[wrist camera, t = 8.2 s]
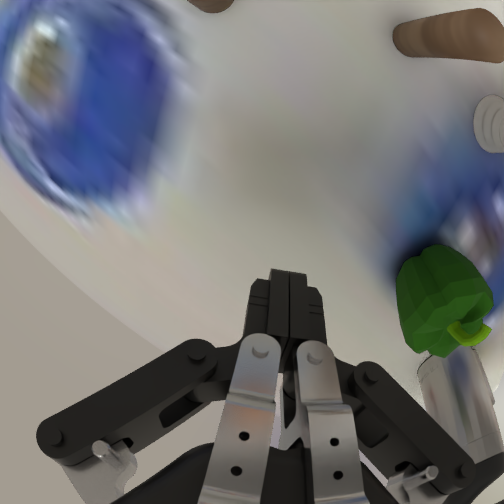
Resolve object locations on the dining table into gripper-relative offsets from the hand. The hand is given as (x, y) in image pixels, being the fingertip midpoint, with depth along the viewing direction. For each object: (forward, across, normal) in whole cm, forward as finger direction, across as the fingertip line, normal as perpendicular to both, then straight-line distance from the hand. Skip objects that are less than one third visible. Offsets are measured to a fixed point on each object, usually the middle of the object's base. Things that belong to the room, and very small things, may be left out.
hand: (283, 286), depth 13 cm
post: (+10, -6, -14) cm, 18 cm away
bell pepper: (+11, -15, +4) cm, 19 cm away
